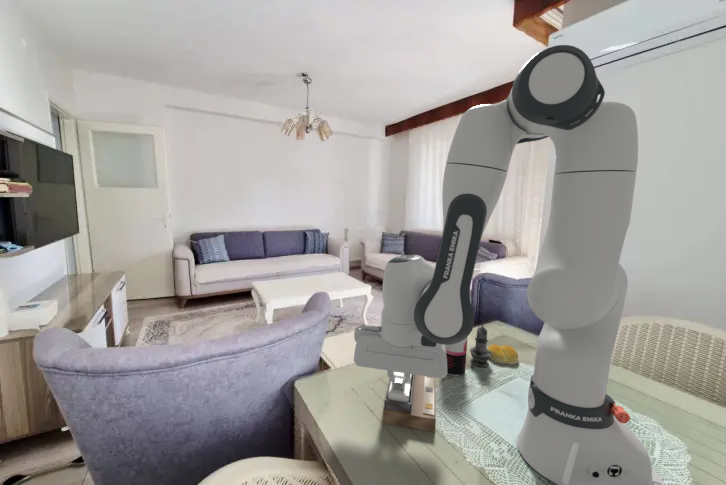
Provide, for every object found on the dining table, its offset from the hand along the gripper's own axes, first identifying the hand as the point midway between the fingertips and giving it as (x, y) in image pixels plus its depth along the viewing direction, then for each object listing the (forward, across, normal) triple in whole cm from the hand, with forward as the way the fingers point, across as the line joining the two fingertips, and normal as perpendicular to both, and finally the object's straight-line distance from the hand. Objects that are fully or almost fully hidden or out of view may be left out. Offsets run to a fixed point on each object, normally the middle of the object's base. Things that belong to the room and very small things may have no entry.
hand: (398, 387), depth 69 cm
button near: (+3, 0, 0) cm, 3 cm away
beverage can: (+7, +13, +22) cm, 27 cm away
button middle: (+2, 0, +6) cm, 6 cm away
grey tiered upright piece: (+7, +21, +28) cm, 36 cm away
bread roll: (+7, +29, +33) cm, 44 cm away
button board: (+6, +3, +6) cm, 9 cm away
